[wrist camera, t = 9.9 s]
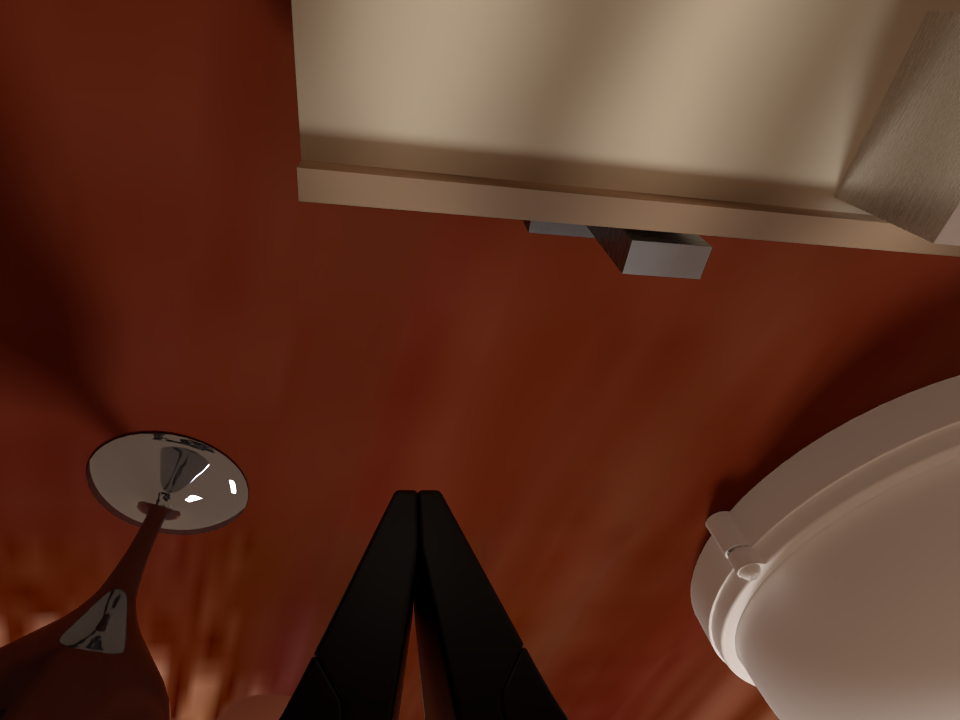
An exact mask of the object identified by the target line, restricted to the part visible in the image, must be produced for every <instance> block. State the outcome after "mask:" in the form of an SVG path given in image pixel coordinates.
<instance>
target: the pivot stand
mask: <svg viewBox="0 0 960 720" xmlns="http://www.w3.org/2000/svg"><path fill="white" fill-rule="evenodd" d="M524 224H525V226H526V228H527V230H528V232H529V233H542V234H554V235H566V236H578V237H590V238H596V239H597V241H598V242H599V243H600V245H601V246H602V247H603V249H604V250H605V251H606V253H607V254H608V255H609V257H610V258H611V259H612V261H613V262H614V263H615V264H616V266H617V267H618V268H619V270H620V271H621V272H622V274H636V275H649V276H663V277H677V278H691V279H700V277H701V275H702V272H703V269H704V267H705V264H706V262H707V259H708V257H709V254H710V252H711V249H712V246H711V245H709V244H708V243H707V242H706V241H705V240H703V239H702V238H701V237H700V236H699V235H697V234H685V233H673V232H661V231H649V230H637V229H625V228H614V227H602V226H590V225H578V224H566V223H554V222H542V221H530V220H524Z"/></svg>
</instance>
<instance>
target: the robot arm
mask: <svg viewBox="0 0 960 720" xmlns="http://www.w3.org/2000/svg"><path fill="white" fill-rule="evenodd" d="M413 604H414V614H415V626H416V636H417V646H418V655H419V665H420V675H421V684H422V694H423V704H424V714H425V720H569V719H568V718H567V716H566V715H565V713H564V712H563V710H562V709H561V707H560V706H559V704H558V703H557V701H556V700H555V698H554V697H553V695H552V693H551V691H550V690H549V688H548V686H547V685H546V683H545V681H544V679H543V678H542V676H541V674H540V673H539V671H538V669H537V667H536V666H535V664H534V662H533V660H532V658H531V656H530V655H529V653H528V651H527V649H526V648H523V642H522V640H521V638H520V637H519V635H518V633H517V631H516V629H515V627H514V626H513V624H512V622H511V620H510V618H509V616H508V615H507V613H506V611H505V609H504V607H503V605H502V604H501V602H500V600H499V598H498V596H497V594H496V593H495V591H494V589H493V587H492V585H491V583H490V582H489V580H488V578H487V576H486V574H485V572H484V571H483V569H482V567H481V565H480V563H479V561H478V560H477V558H476V556H475V554H474V552H473V550H472V549H471V547H470V545H469V543H468V541H467V539H466V538H465V536H464V534H463V532H462V530H461V528H460V527H459V525H458V523H457V521H456V519H455V517H454V516H453V514H452V512H451V510H450V508H449V506H448V505H447V503H446V501H445V499H444V497H443V495H442V494H441V493H440V492H439V491H437V490H421V491H419V492H418V494H417V492H416V491H414V490H398V491H396V492H395V493H394V495H393V497H392V499H391V501H390V503H389V505H388V507H387V509H386V511H385V513H384V515H383V517H382V519H381V521H380V523H379V525H378V527H377V529H376V531H375V533H374V535H373V537H372V539H371V541H370V543H369V545H368V547H367V549H366V551H365V553H364V555H363V557H362V559H361V561H360V563H359V565H358V567H357V569H356V571H355V573H354V575H353V577H352V579H351V581H350V583H349V585H348V587H347V589H346V591H345V593H344V595H343V597H342V599H341V601H340V603H339V605H338V607H337V609H336V611H335V613H334V615H333V617H332V619H331V621H330V623H329V625H328V627H327V629H326V631H325V633H324V635H323V637H322V639H321V641H320V643H319V645H318V647H317V649H316V651H315V653H314V657H313V658H311V660H310V662H309V664H308V666H307V668H306V670H305V672H304V674H303V676H302V678H301V680H300V682H299V684H298V686H297V688H296V690H295V691H294V693H293V695H292V697H291V699H290V701H289V703H288V705H287V707H286V708H285V710H284V712H283V714H282V716H281V717H280V719H279V720H399V712H400V705H401V697H402V690H403V683H404V675H405V668H406V660H407V653H408V645H409V638H410V631H411V623H412V614H413Z"/></svg>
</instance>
